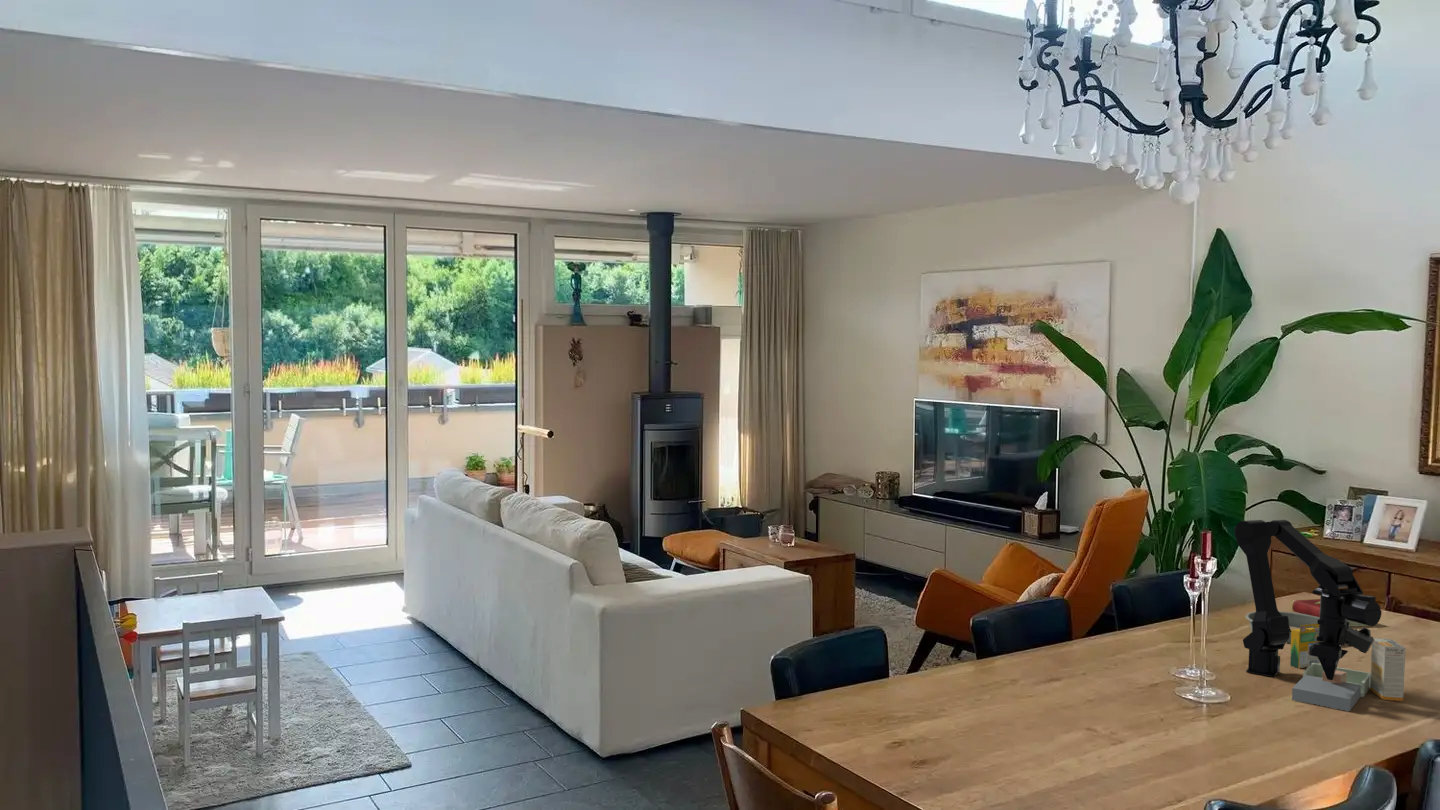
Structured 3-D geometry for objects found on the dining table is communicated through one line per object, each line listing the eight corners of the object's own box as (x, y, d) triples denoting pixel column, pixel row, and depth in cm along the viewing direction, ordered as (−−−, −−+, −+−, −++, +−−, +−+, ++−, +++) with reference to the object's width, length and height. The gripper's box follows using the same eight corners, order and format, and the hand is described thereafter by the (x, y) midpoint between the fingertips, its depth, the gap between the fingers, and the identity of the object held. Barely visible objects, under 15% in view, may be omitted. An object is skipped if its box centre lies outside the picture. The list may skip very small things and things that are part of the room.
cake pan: (1357, 648, 306) (1358, 632, 306) (1270, 646, 306) (1270, 630, 306) (1311, 625, 330) (1311, 611, 330) (1230, 624, 331) (1230, 609, 330)
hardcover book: (1343, 629, 328) (1344, 615, 327) (1291, 612, 348) (1292, 599, 348) (1376, 627, 330) (1376, 613, 330) (1322, 610, 351) (1323, 597, 351)
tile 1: (1322, 680, 264) (1322, 672, 264) (1326, 676, 267) (1326, 668, 267) (1340, 683, 261) (1341, 675, 261) (1344, 680, 264) (1345, 672, 264)
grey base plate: (1291, 700, 258) (1292, 688, 258) (1304, 686, 268) (1305, 674, 268) (1349, 711, 250) (1349, 699, 250) (1360, 697, 261) (1360, 684, 261)
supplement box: (1404, 701, 258) (1407, 647, 257) (1382, 700, 259) (1384, 646, 258) (1390, 691, 266) (1393, 638, 265) (1368, 689, 267) (1371, 637, 266)
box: (1302, 686, 269) (1302, 672, 269) (1311, 676, 277) (1312, 662, 277) (1363, 697, 260) (1363, 683, 260) (1371, 687, 269) (1371, 673, 269)
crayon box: (1310, 663, 289) (1312, 620, 288) (1320, 666, 286) (1322, 623, 286) (1289, 665, 287) (1291, 622, 286) (1298, 668, 284) (1300, 625, 283)
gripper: (1364, 629, 249) (1360, 695, 250) (1378, 614, 263) (1375, 678, 264) (1310, 620, 256) (1307, 685, 257) (1327, 607, 270) (1324, 668, 271)
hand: (1330, 679), depth 262 cm, fingers closed
